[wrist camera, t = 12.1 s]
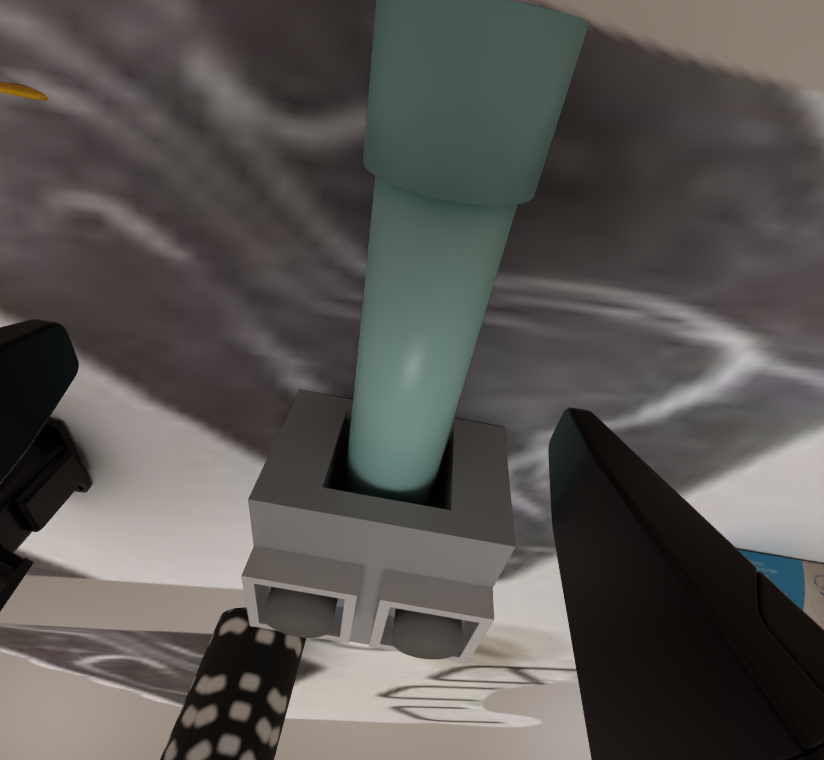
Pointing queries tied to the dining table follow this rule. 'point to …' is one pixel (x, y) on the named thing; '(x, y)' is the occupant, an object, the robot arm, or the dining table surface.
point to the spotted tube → (237, 694)
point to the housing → (379, 530)
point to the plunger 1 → (299, 613)
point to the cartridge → (443, 211)
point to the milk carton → (795, 581)
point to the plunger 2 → (426, 634)
